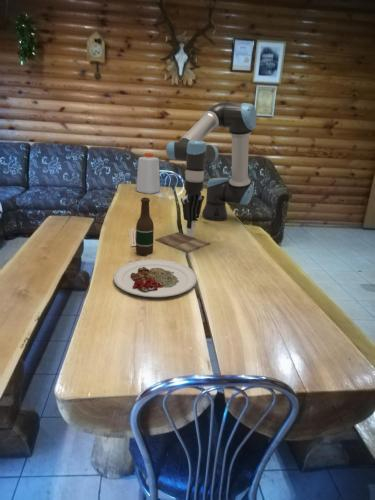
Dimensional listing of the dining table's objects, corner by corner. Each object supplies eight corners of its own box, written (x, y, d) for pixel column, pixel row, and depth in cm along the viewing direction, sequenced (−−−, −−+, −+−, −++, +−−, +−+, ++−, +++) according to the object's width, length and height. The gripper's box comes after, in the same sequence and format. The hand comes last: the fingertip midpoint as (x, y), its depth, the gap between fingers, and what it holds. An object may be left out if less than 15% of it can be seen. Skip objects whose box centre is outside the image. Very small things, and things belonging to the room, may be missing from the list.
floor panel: (178, 234, 173) (178, 232, 173) (196, 240, 166) (196, 238, 165) (155, 241, 162) (155, 239, 161) (173, 248, 155) (173, 246, 154)
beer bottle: (156, 251, 151) (158, 197, 142) (148, 257, 144) (150, 201, 135) (140, 248, 153) (140, 195, 144) (132, 254, 146) (132, 198, 137)
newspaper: (128, 232, 174) (128, 228, 173) (142, 232, 175) (142, 228, 175) (129, 249, 153) (129, 245, 152) (145, 249, 154) (145, 245, 153)
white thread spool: (149, 195, 249) (150, 155, 239) (133, 191, 257) (133, 152, 246) (162, 191, 261) (163, 154, 251) (146, 188, 269) (147, 151, 258)
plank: (196, 241, 166) (196, 238, 165) (210, 245, 161) (210, 242, 160) (174, 249, 154) (174, 246, 154) (187, 253, 149) (187, 250, 149)
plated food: (194, 264, 140) (194, 257, 139) (198, 302, 112) (199, 293, 111) (120, 261, 139) (120, 254, 137) (106, 299, 111) (106, 290, 110)
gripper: (197, 177, 147) (193, 229, 156) (176, 180, 138) (173, 235, 147) (211, 180, 143) (206, 234, 152) (190, 183, 134) (187, 240, 142)
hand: (190, 234), depth 149 cm, fingers closed
